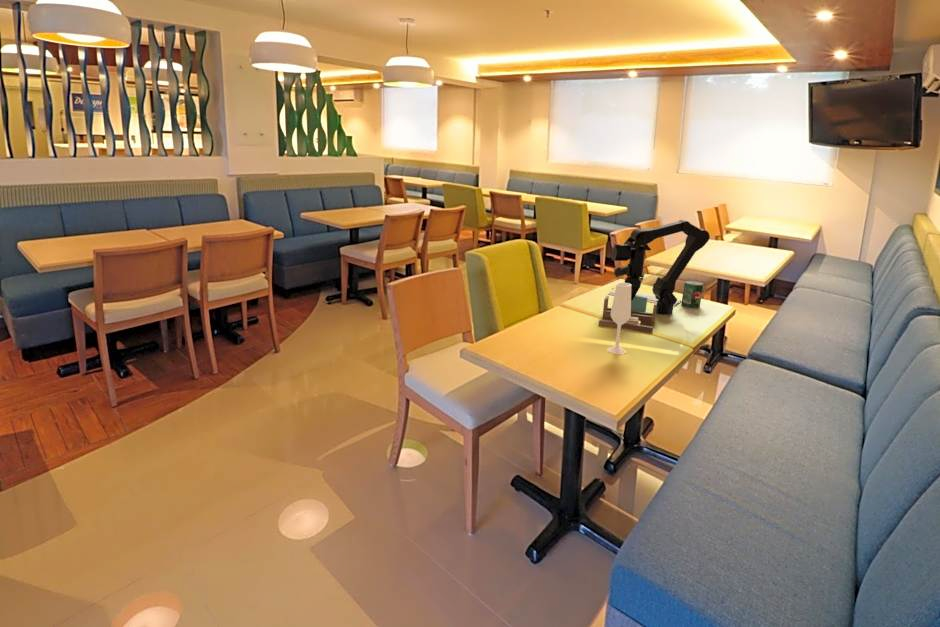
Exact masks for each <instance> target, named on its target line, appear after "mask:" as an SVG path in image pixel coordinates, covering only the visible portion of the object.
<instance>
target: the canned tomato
mask: <svg viewBox="0 0 940 627" xmlns="http://www.w3.org/2000/svg"><path fill="white" fill-rule="evenodd" d="M704 284H705V283H703V282H702V281H699V280H685V281H684V285H683V290H682V291H683V292H682V299H681V302H680V303H681V304H680V306H681V305H682V306H681V307H683V308H685V307H686V308H687V309H692V310H696V309H700V308H701V302H702V301H701V300H702V295H703V289H704Z"/></svg>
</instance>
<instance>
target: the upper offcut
mask: <svg viewBox="0 0 940 627" xmlns="http://www.w3.org/2000/svg"><path fill="white" fill-rule="evenodd" d="M638 322H639V321H638V317H630V319H629V320H628V321H627V322H626V323H629V324H636V325H638Z"/></svg>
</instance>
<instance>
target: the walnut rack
mask: <svg viewBox="0 0 940 627" xmlns="http://www.w3.org/2000/svg"><path fill="white" fill-rule="evenodd" d="M609 296H610V295H605V297H604V298H603V299H604V301H603V311H602V316H601V317H602V318H601V319H599V320H598V326H601V327H607V328H616V329H617V326H618V324H616V323H615V322H614V321H613V320H612V318H611V315H610V314H611V309H612V307H609V306H608V305H609V298H610V297H609ZM656 308H657V302H656V301H655V302H654V303H653V309H652V312H639V311H631V317H638V321H641V322H640V325H636V324H629V323H624V324H622V325H621V329H622V330H630V331H635V332H636V331H637V332H643V333H651V334H652V333H653V332H654V327H655V326H654V325H655V322H656V314H657V313H656Z"/></svg>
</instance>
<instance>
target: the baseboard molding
mask: <svg viewBox="0 0 940 627" xmlns="http://www.w3.org/2000/svg"><path fill="white" fill-rule="evenodd" d="M615 290H616V288H615V287H613V288H611V290H609V292H608V293H607V294H608V295H607V296H613V297H614V295H615ZM636 295H638V296H647V303H651V302H653V303H652V304H654V302H655V301H656V302H657V300H658V299H656V297H655V295H654V294H650V293H645V292H639V291H638V292H637V293H636ZM679 302H680V303H682V299H677V301H676V303H675V304H674V305H673V306H674V307H673V308H675V307H677V306H678V305H679V304H680V303H679ZM678 303H679V304H678ZM677 304H678V305H677Z"/></svg>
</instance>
